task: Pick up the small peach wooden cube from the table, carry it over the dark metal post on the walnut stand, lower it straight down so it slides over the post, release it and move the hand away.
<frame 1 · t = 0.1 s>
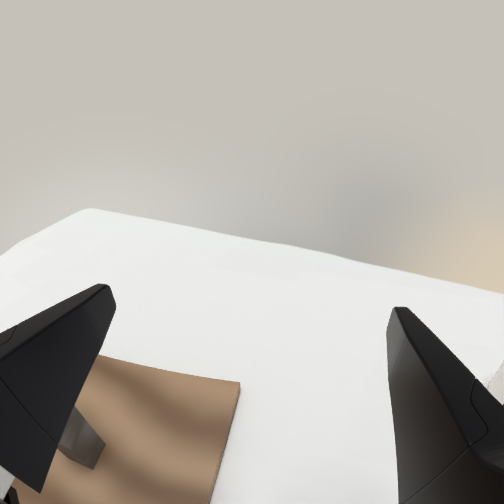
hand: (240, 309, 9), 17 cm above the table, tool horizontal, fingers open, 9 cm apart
post stand: (91, 456, 19), on the table
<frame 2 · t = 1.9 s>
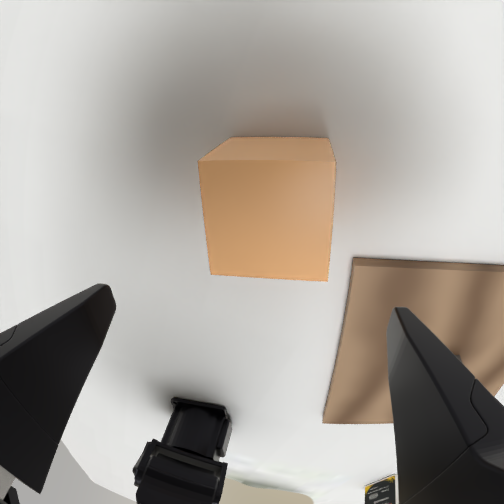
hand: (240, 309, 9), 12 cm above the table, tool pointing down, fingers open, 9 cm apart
medicine bottle: (392, 481, 41), on the table
post stand: (440, 357, 24), on the table
peach wooden cube: (279, 183, 19), on the table
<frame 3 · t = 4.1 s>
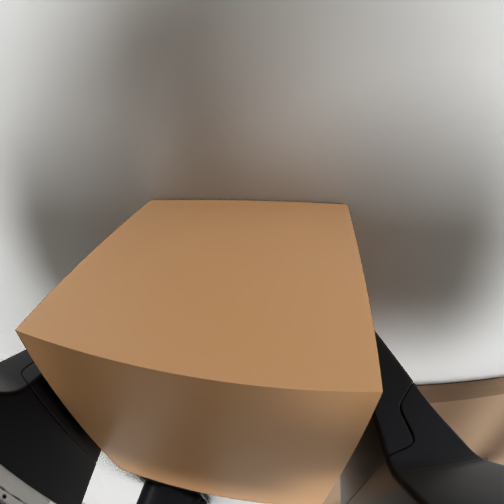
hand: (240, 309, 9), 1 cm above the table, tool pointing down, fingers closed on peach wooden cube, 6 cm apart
post stand: (463, 458, 15), on the table
peach wooden cube: (247, 285, 10), on the table, touching gripper
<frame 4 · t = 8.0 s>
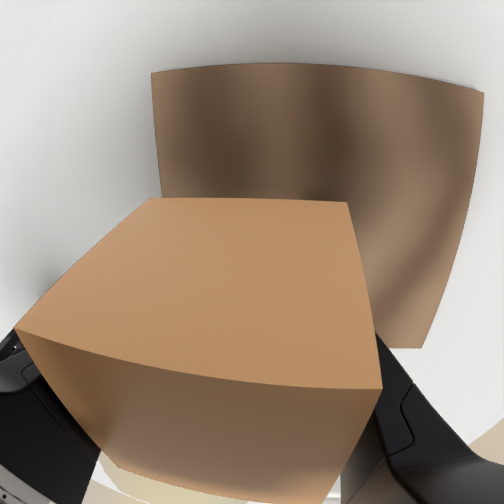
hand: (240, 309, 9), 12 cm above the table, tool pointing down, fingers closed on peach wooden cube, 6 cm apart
post stand: (316, 223, 20), on the table
peach wooden cube: (247, 283, 10), point 11 cm above the table, touching gripper
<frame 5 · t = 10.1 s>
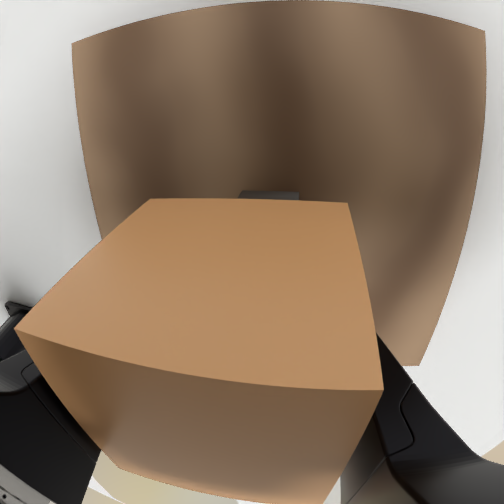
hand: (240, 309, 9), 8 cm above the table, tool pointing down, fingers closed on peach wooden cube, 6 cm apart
medicine bottle: (318, 476, 32), on the table
post stand: (273, 209, 16), on the table
peach wooden cube: (247, 284, 10), point 6 cm above the table, touching gripper
when the fingers open (5 cm above the table, at t = 12.0 s): peach wooden cube drops 1 cm, resting on post stand.
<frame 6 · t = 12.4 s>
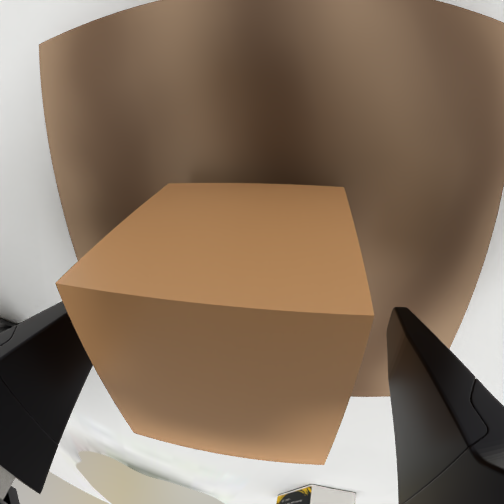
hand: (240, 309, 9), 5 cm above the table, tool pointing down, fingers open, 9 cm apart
medicine bottle: (316, 493, 30), on the table
post stand: (265, 231, 14), on the table
peach wooden cube: (255, 261, 11), point 3 cm above the table, touching post stand
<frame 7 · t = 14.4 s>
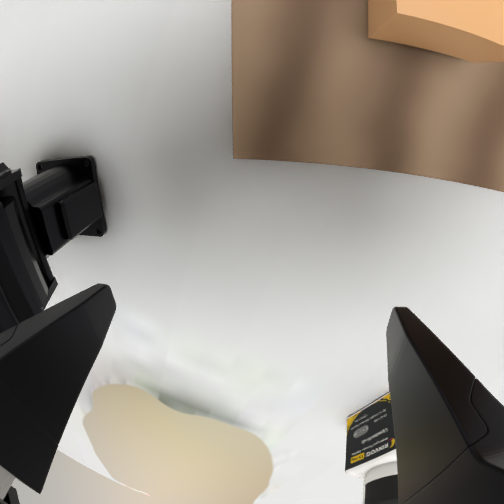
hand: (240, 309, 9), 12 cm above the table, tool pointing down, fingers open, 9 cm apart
medicine bottle: (391, 411, 29), on the table
post stand: (410, 9, 12), on the table
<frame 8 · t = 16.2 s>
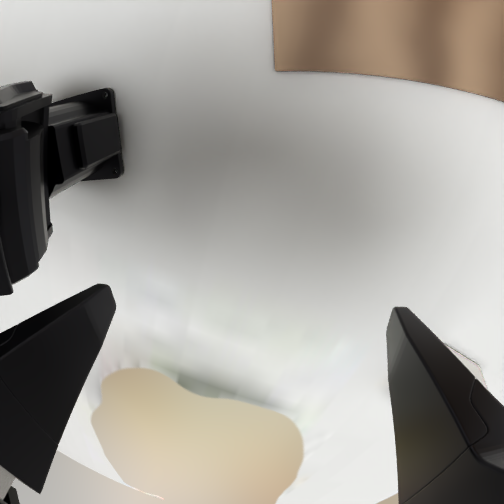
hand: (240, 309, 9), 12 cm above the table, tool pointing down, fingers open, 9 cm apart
medicine bottle: (436, 374, 26), on the table
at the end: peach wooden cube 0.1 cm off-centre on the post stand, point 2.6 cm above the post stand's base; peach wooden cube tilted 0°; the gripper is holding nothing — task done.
